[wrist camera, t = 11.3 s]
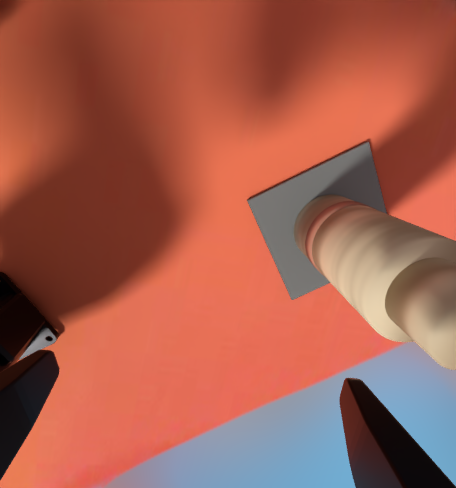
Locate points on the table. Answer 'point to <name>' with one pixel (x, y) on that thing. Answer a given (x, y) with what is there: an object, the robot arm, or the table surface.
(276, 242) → the mat
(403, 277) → the skittle
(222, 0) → the table surface
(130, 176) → the table surface
